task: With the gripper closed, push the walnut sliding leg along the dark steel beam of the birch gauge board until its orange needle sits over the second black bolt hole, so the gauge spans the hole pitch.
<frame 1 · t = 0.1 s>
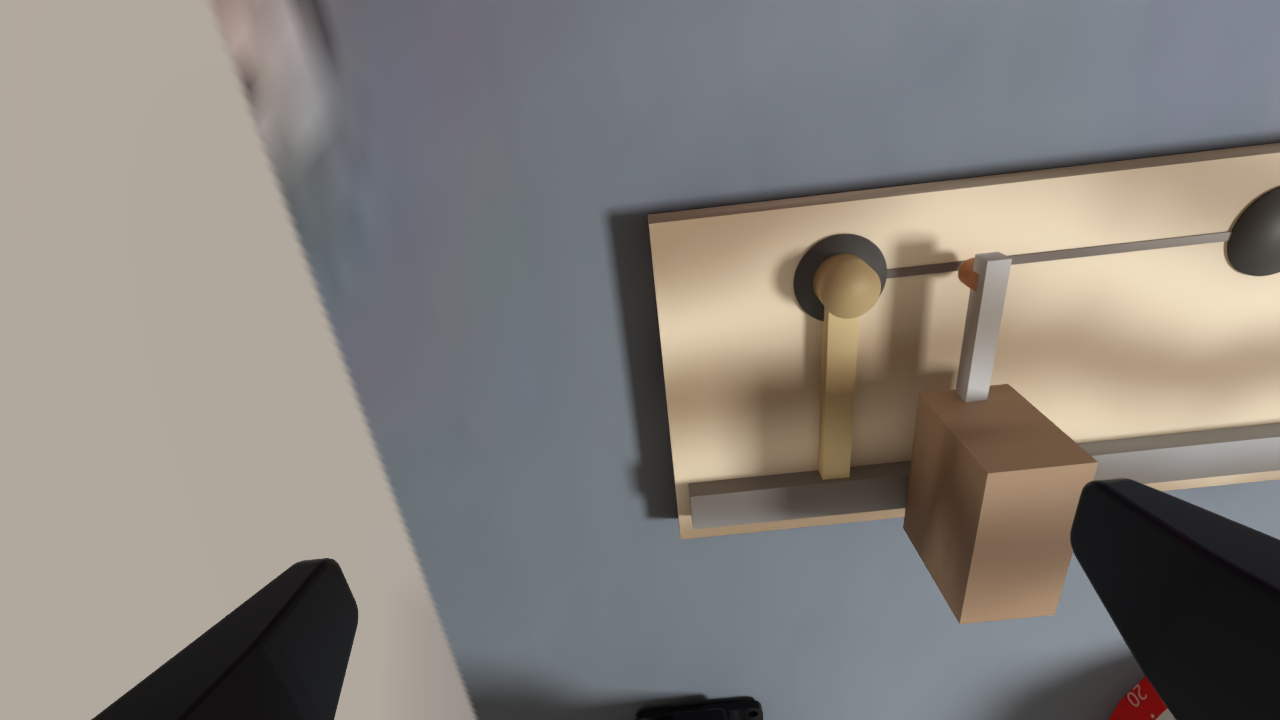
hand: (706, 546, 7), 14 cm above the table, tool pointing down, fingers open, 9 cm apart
sliding leg: (991, 435, 19), point 4 cm above the table, slide at 0.0 cm
kitchen timer: (1231, 707, 33), on the table
gauge board: (1000, 350, 23), on the table
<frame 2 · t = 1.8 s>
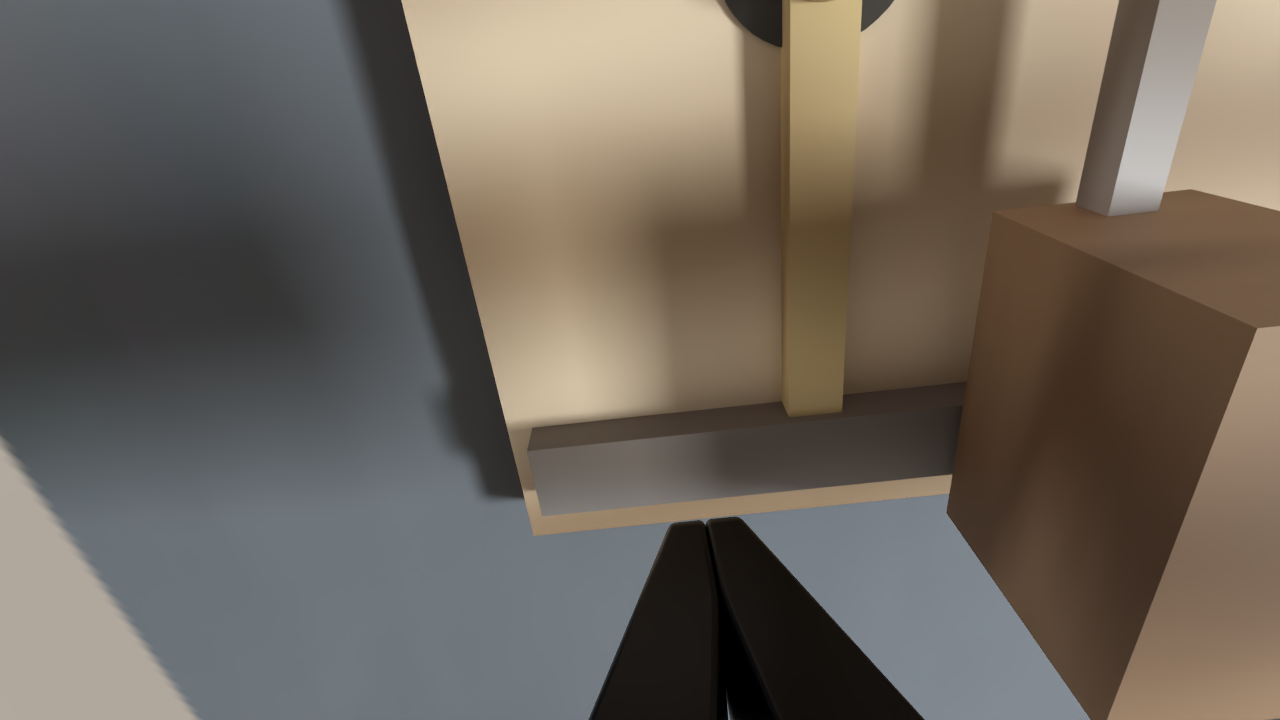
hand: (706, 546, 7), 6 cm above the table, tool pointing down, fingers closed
sliding leg: (1184, 280, 8), point 4 cm above the table, slide at 0.0 cm
gauge board: (1143, 157, 11), on the table
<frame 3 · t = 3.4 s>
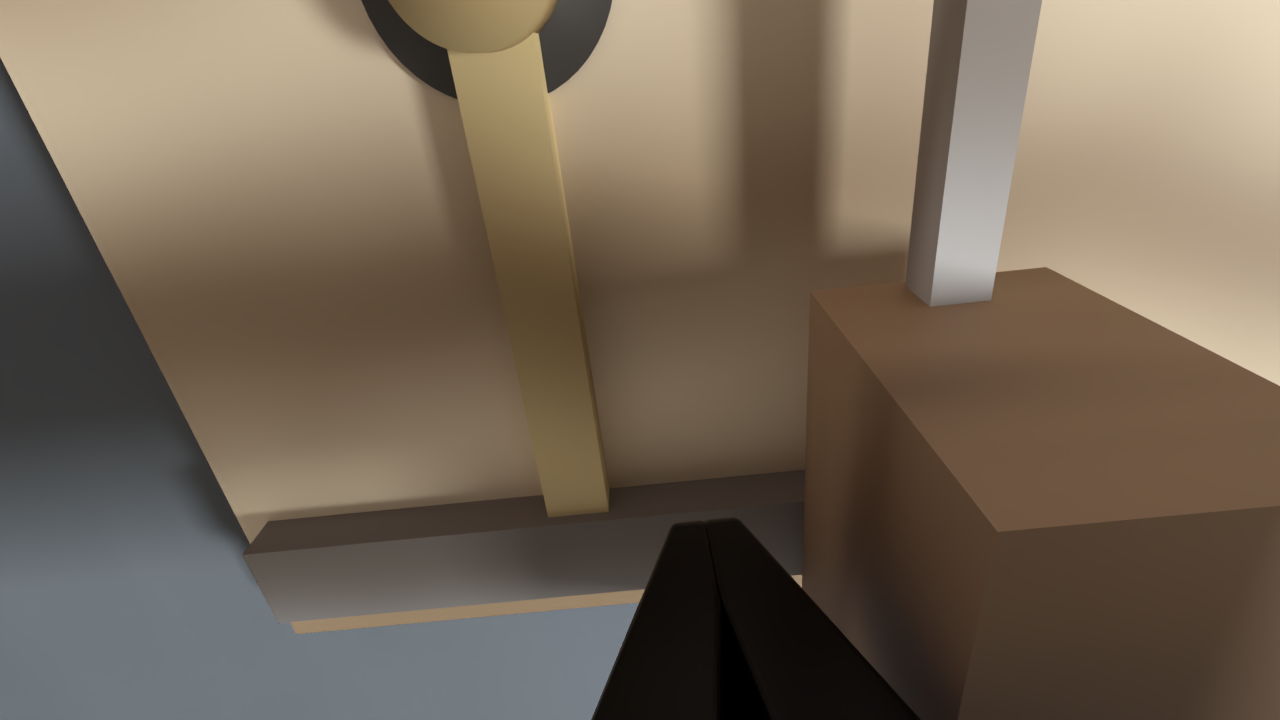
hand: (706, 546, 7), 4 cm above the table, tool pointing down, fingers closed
sliding leg: (1004, 396, 6), point 4 cm above the table, slide at 1.1 cm, touching gripper
gauge board: (954, 222, 10), on the table
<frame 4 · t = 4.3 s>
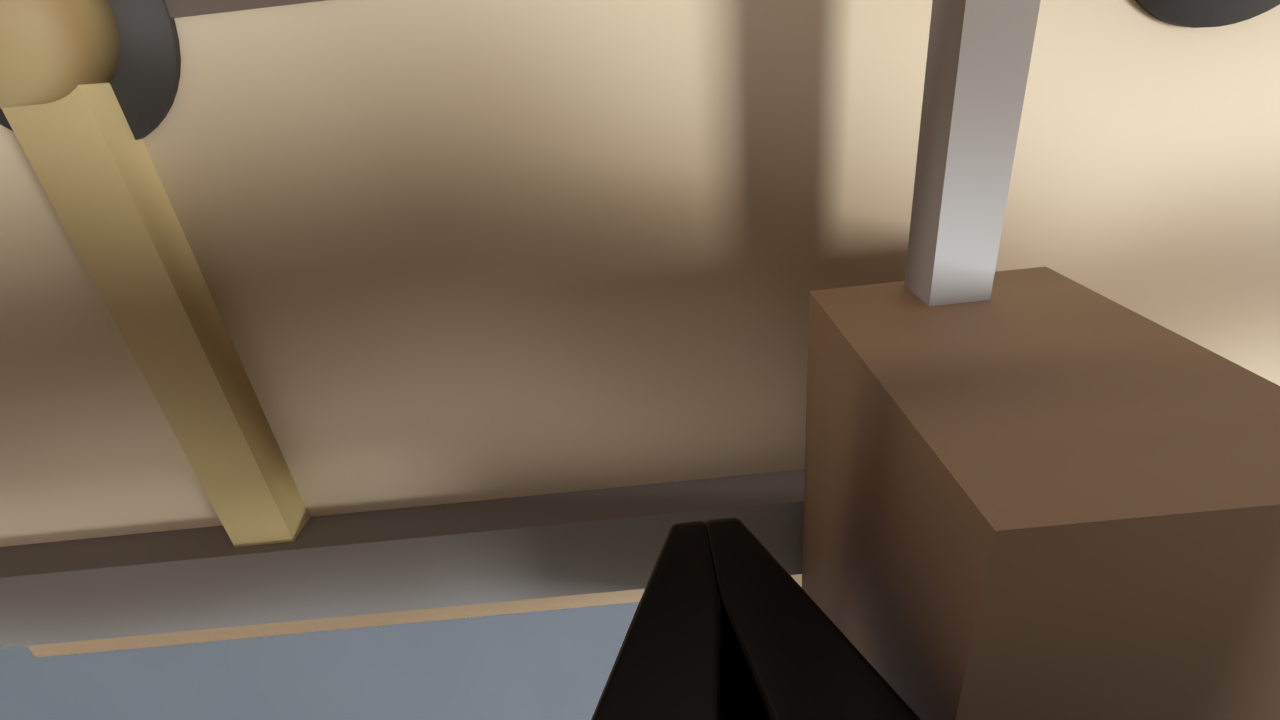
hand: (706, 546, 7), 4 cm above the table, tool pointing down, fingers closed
sliding leg: (1003, 396, 6), point 4 cm above the table, slide at 6.3 cm, touching gripper
gauge board: (628, 256, 10), on the table
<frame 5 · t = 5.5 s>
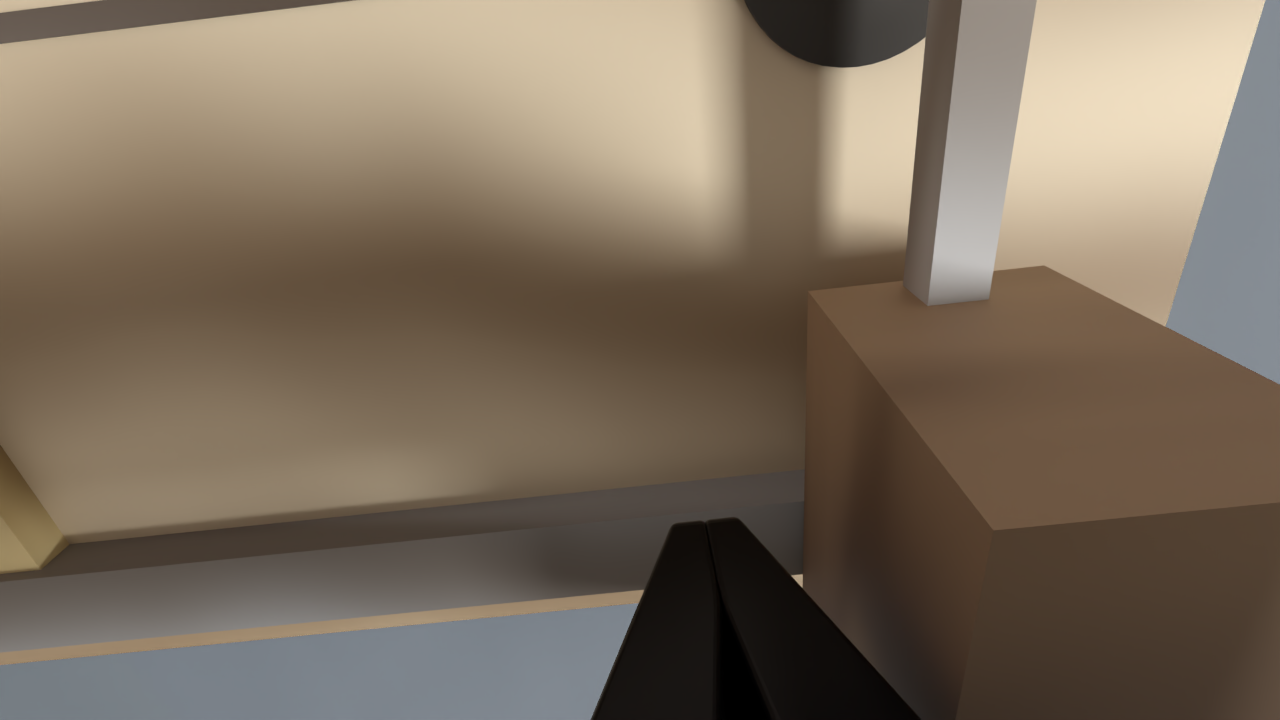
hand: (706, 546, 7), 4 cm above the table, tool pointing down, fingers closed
sliding leg: (1002, 395, 6), point 4 cm above the table, slide at 10.7 cm, touching gripper
gauge board: (364, 286, 10), on the table
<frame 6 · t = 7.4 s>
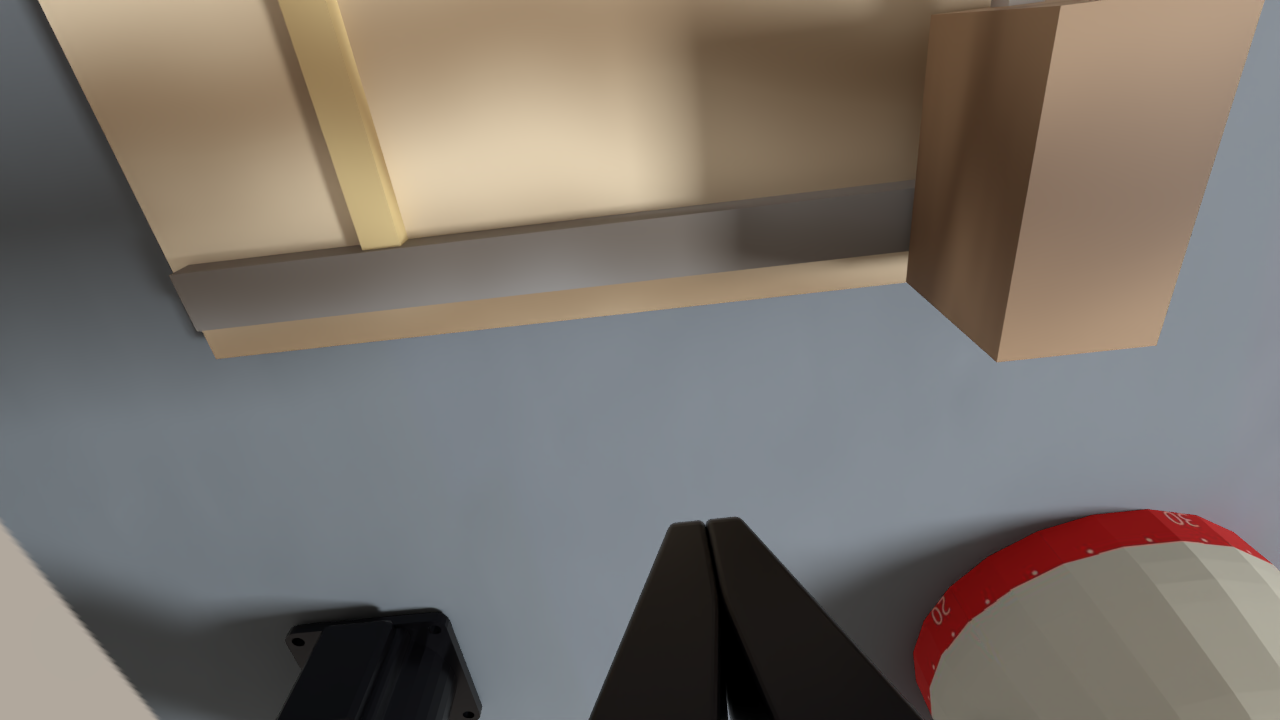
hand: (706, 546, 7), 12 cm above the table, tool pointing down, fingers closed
sliding leg: (1054, 37, 11), point 4 cm above the table, slide at 10.7 cm
kitchen timer: (1076, 631, 26), on the table
gauge board: (616, 52, 15), on the table
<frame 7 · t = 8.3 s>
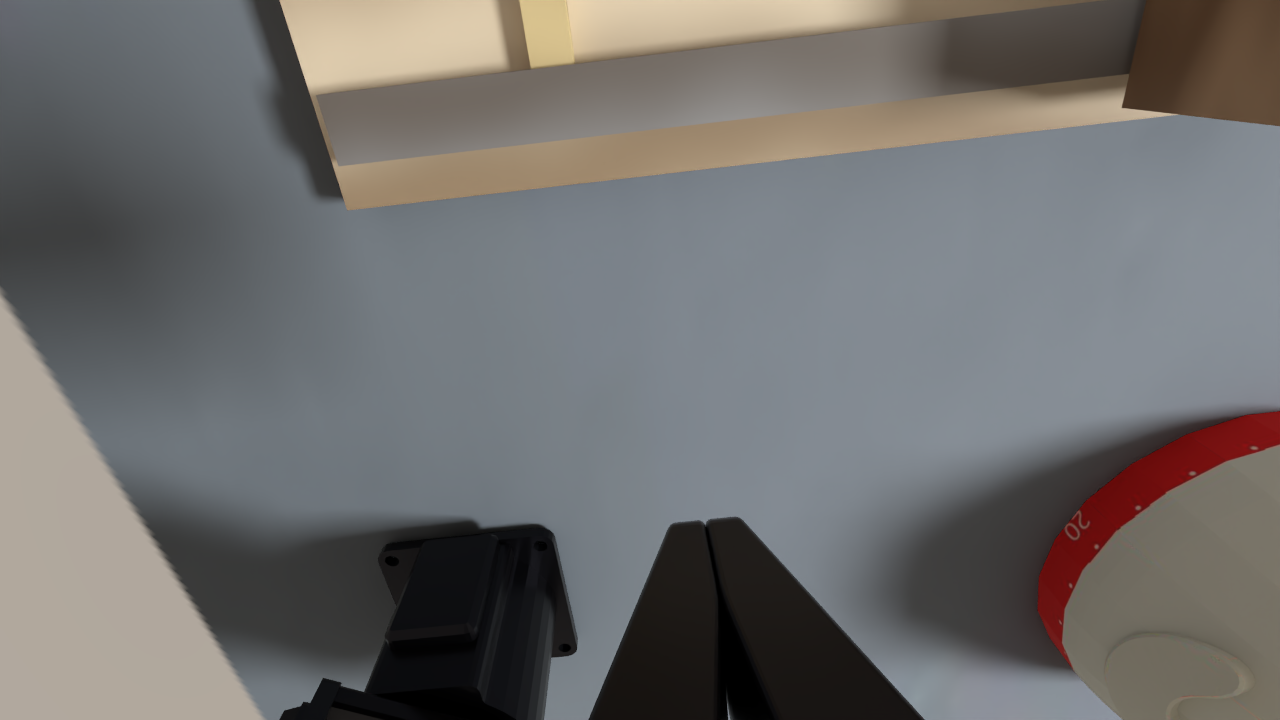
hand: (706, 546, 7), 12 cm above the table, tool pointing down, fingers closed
kitchen timer: (1209, 553, 25), on the table
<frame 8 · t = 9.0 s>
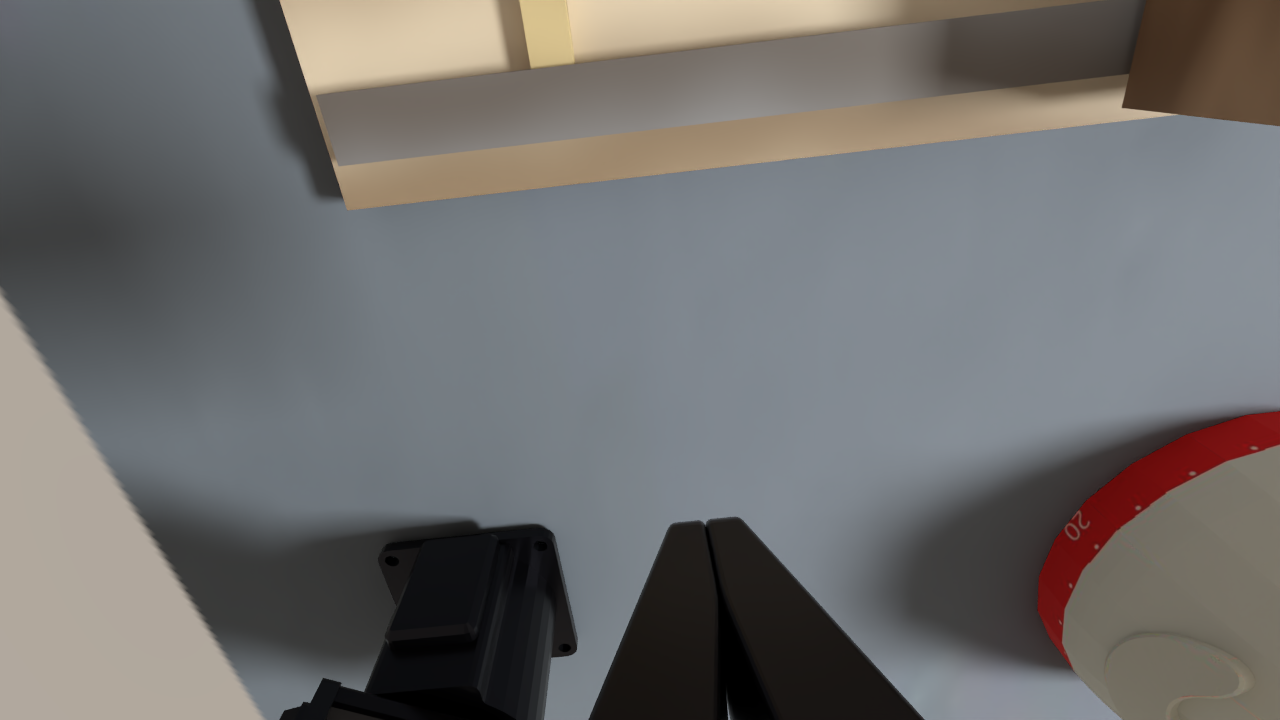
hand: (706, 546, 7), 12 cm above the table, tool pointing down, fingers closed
kitchen timer: (1209, 553, 25), on the table
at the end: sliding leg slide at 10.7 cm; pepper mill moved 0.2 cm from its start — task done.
